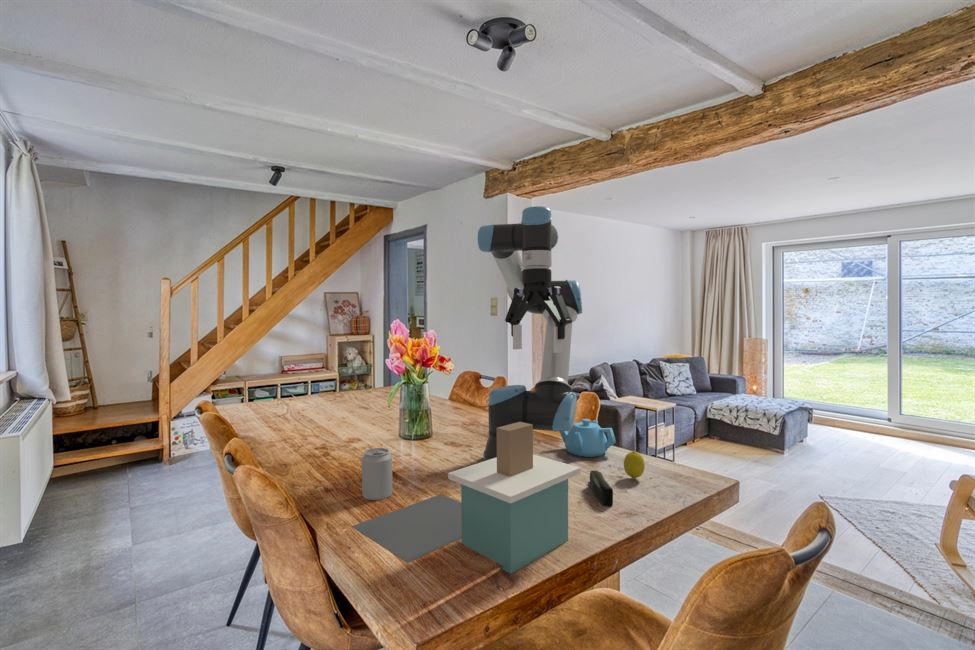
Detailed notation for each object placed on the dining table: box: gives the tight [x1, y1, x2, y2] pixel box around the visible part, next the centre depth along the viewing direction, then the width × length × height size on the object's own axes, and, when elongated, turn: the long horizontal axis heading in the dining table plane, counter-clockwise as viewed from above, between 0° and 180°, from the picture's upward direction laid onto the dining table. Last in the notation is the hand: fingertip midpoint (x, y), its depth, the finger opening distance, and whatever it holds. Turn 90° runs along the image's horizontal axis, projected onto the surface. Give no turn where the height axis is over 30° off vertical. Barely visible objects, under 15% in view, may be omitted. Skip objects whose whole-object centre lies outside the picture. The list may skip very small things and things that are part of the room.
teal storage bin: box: [460, 479, 569, 575], centre depth 97 cm, size 13×17×14 cm
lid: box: [447, 422, 581, 503], centre depth 97 cm, size 17×21×10 cm
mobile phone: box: [587, 470, 614, 507], centre depth 123 cm, size 5×3×15 cm
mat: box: [351, 493, 462, 563], centre depth 106 cm, size 21×25×1 cm
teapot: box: [558, 418, 617, 458], centre depth 158 cm, size 15×15×11 cm
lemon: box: [623, 450, 646, 480], centre depth 133 cm, size 6×6×8 cm
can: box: [361, 447, 393, 501], centre depth 122 cm, size 8×8×12 cm
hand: (536, 350), depth 124 cm, fingers open, 13 cm apart
